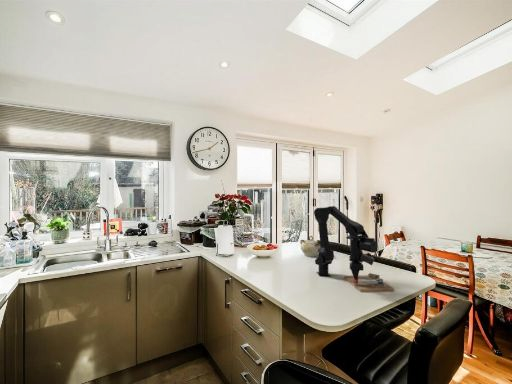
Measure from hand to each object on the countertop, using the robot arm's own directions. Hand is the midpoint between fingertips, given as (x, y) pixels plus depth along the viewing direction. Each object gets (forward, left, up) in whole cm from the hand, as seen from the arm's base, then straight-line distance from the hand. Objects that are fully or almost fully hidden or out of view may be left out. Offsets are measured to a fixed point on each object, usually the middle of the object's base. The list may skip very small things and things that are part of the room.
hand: (355, 278), depth 129 cm
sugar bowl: (-64, -7, -4) cm, 64 cm away
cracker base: (-4, +8, -4) cm, 10 cm away
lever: (+1, +6, -2) cm, 7 cm away
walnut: (-5, +11, -1) cm, 12 cm away
